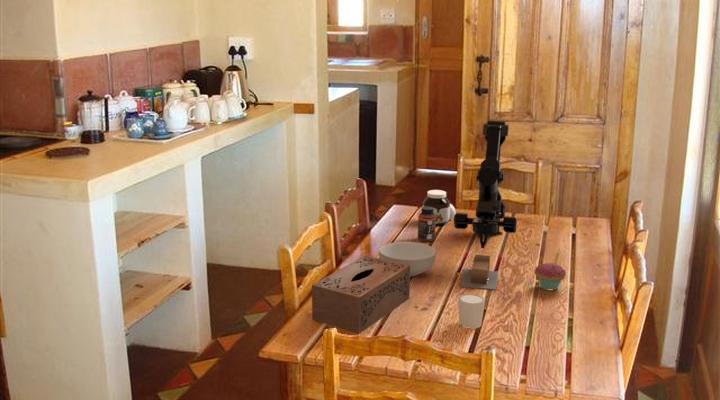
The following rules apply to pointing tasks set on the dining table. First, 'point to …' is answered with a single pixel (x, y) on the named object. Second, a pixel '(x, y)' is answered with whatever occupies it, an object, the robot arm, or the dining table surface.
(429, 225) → the supplement bottle
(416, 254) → the cereal bowl
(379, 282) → the tissue box cover
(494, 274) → the felt mat
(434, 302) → the dining table surface
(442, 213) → the spread jar
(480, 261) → the walnut block
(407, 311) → the dining table surface
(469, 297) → the white cup
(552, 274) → the cupcake
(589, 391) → the dining table surface
